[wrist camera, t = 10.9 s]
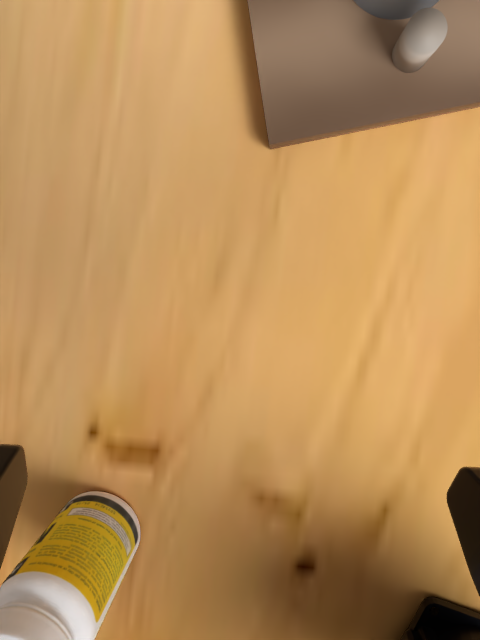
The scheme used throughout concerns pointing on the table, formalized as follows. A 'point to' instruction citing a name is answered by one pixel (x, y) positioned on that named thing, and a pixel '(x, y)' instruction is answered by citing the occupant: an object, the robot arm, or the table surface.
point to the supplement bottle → (71, 571)
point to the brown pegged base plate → (361, 66)
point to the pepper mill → (394, 7)
